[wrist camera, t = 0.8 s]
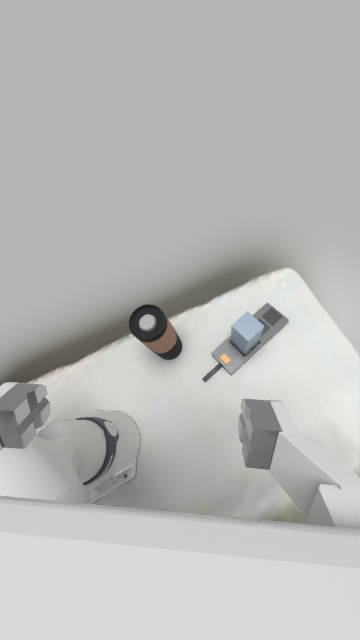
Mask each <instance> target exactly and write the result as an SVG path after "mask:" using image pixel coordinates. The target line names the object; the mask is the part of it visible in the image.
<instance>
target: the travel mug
mask: <svg viewBox="0 0 360 640" xmlns="http://www.w3.org/2000/svg"><path fill="white" fill-rule="evenodd" d="M129 328H130V331H131V333H132V334H133V335H134V336H135V337H136V338H137V339H139V340H140V341H141V342H142V343H143V344H144V345H146V346H147V347H148V348H149V349H150V350H151V351H153V352H154V353H156V354H157V355H159V356H160V357H162V358H164V359H167V360H170V359H174V358H176V357H177V356H178V355H179V354H180V352H181V350H182V343H181V340H180V338H179V336H178V335H177V333H176V331H175V329H174V328H173V326H172V325H171V323H170V322H169V320H168V319H167V318H166V316H165V315H164V313H163V312H162V310H160V308H159V307H157V306H155V305H150V304H147V305H143V306H141V307H138V308H137V309H136V310H135V311H134V312H133V313H132V315H131V317H130V320H129Z"/></svg>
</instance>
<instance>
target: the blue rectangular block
mask: <svg viewBox="0 0 360 640" xmlns="http://www.w3.org/2000/svg"><path fill="white" fill-rule="evenodd" d="M263 328H264V325H262V324H261V323H260V322H259V321H258V320H257V319H256V318H254V317H253V316H252V315H251V314H250V313H249V312H248V311H247V312H246V313H245V314H244V315H243V316H242V317H241V318H240V319H238V320H237V321H236V322H235V323H234V324H233V325H232V329H231V344H232V345H233V346H234V347H235V348H236V349H237V350H238V351H239V352H240V353H241V354H242V355H243V356H245V355H246V354H247V353H248V352H250V351H251V350H252V349H253V348H254V347H255V346H256V345H257V343H258V341H259V338H260V336H261V333H262V331H263Z"/></svg>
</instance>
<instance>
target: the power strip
mask: <svg viewBox="0 0 360 640" xmlns="http://www.w3.org/2000/svg"><path fill="white" fill-rule="evenodd" d="M253 317H254V318H256V319H257V320H258V321H259V322H260V323H261V324H262V325H264V328H263V331H262V333H261V336H260V338H259V341H258V343H259V345H258V346H257V347H255V348H254V349H253V350H252V351H251V352H250V353H249V354H248V355H247V356H246V357H244V356H242V355H241V354H240V353H239V352H238V351H237V350H236V349H235V348H234V347H233V346H232V345H231V344H230V342H231V336H230V337H229V338H228V339H227V340H226V341H224V342H223V343H222V344H221V345H220V346H219V347H218V348H217V349H216V350H215V351H213V352H212V356H213V357H214V358H215V359H216V360H217V361H218V362H219V364H218V365H217V366H216V367H215V368H214V369H213V370H211V371H210V372H209V373H208V374H207V375H206V376H205V377H204V378H203V380H204V381H205V382H206V381H207V380H208V379H209V378H210V377H211V376H212V375H213V374H214V373H215V372H216V371H217V370H219V369H220V368H221V367H222V366H223V367H224V368H225V369H226V370H227V371H228V372H229V373H230V374H231V375H232V374H233V373H234V372H235V371H236V370H237V369H238V368H240V367H241V366H242V365H243V364H244V363H245V362H246V361H247V360H248V359H249V358H250V357H251V356H252V355H253V354H255V353H256V352H257V351H258V350H259V349H260V348H261V347H262V346H263V345H264V344H265V343H266V342H267V341H269V340H270V339H271V338H272V337H273V336H274V335H275V334H276V333H277V332H278V331H279V330H280V329H281V328H283V327H284V326H285V325H286V324H287V323H288V321H289V320H288V319H287V318H286V317H285V316H283V315H282V314H281V313H280V312H279V311H277V310H276V309H275V308H274V307H272V306H271V305H270V304H269V303H266V304H265V305H264V306H263V307H262V308H261V309H260V310H259V311H258V312H256V313H255V314H254V315H253Z"/></svg>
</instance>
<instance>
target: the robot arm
mask: <svg viewBox="0 0 360 640" xmlns="http://www.w3.org/2000/svg"><path fill="white" fill-rule="evenodd" d="M46 395H47V389H46V386H44V385H38V384H27V383H14V382H8V383H4V384H3V385H2V386H0V640H360V477H358V476H357V475H356V474H355V473H353V472H352V471H351V470H349V469H348V468H347V467H345V466H344V465H343V464H342V463H340V462H339V461H338V460H336V459H335V458H334V457H333V456H331V455H330V454H329V453H327V452H326V451H325V450H323V449H322V448H321V447H320V446H318V445H317V444H316V443H314V442H313V441H312V440H310V439H309V438H308V437H307V436H305V435H304V434H302V433H298V431H297V429H296V427H295V425H294V423H293V421H292V419H291V417H290V415H289V413H288V411H287V409H286V407H285V405H284V403H283V402H282V401H279V400H255V399H242V402H241V410H242V414H241V415H239V422H238V430H239V438H240V441H241V442H242V443H243V449H242V453H243V457H244V462H245V467H249V468H258V469H266V470H269V471H270V473H271V474H272V475H273V476H274V478H275V479H276V480H277V481H278V483H279V484H280V485H281V486H282V488H283V489H284V490H285V491H286V493H287V494H288V495H289V496H290V498H291V499H292V500H293V501H294V503H295V504H296V505H297V506H298V508H299V509H300V510H301V511H302V513H303V514H304V515H305V516H306V518H307V520H306V523H305V524H300V523H289V522H279V521H268V520H257V519H246V518H236V517H225V516H214V515H204V514H193V513H182V512H171V511H161V510H150V509H139V508H128V507H117V506H107V505H96V504H92V503H94V502H95V501H97V500H99V499H100V498H102V497H104V496H105V495H107V494H108V493H110V492H112V491H113V490H115V489H117V488H118V487H120V486H122V485H123V484H125V483H126V482H128V481H130V480H131V479H133V478H134V477H135V475H136V459H137V455H138V452H139V448H140V435H139V430H138V428H137V425H136V424H135V422H134V421H133V419H132V418H131V417H130V416H128V415H127V414H125V413H122V412H118V411H112V412H104V411H101V410H94V411H92V412H91V414H88V415H84V416H82V417H81V418H78V419H75V420H61V421H55V422H52V423H50V424H48V425H47V426H45V427H44V428H43V429H42V430H41V431H39V432H38V433H37V434H36V429H38V428H39V427H41V426H43V425H44V423H45V422H46V421H47V419H48V416H49V414H50V402H49V401H48V400H47V399H46V398H45V396H46ZM125 474H127V478H126V477H125Z"/></svg>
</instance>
